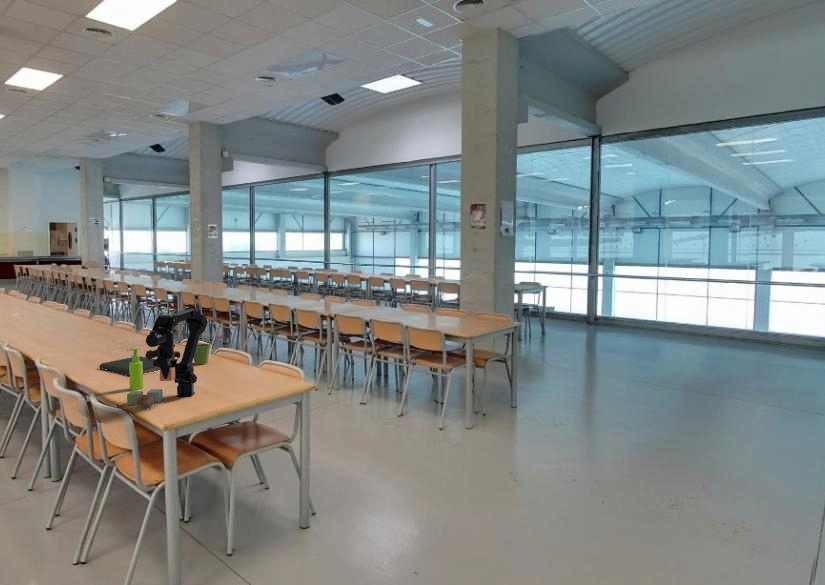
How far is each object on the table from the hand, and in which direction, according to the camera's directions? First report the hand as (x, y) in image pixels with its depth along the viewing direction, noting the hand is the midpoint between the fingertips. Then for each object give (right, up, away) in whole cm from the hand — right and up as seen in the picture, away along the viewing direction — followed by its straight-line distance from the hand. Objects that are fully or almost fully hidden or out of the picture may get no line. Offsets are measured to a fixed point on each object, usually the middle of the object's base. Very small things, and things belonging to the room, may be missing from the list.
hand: (167, 377), depth 242 cm
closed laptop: (-48, -6, +67) cm, 82 cm away
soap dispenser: (-27, -10, +25) cm, 38 cm away
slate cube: (-8, -12, +4) cm, 14 cm away
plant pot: (-17, -5, +81) cm, 83 cm away
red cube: (0, -1, 0) cm, 1 cm away
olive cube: (-15, -12, +1) cm, 19 cm away
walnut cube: (-8, -13, -5) cm, 15 cm away
